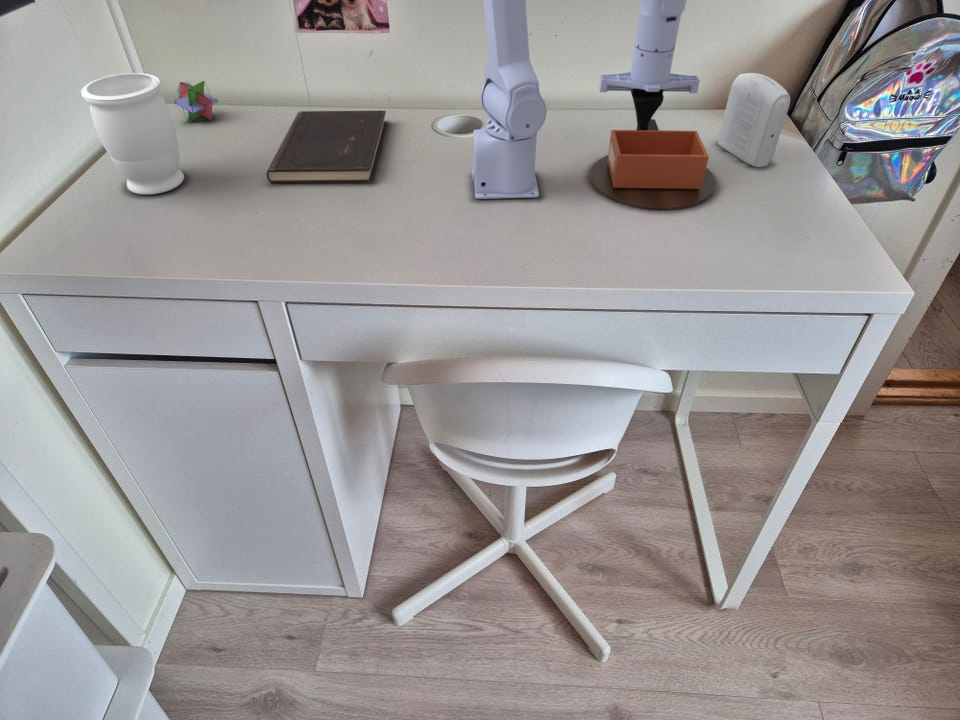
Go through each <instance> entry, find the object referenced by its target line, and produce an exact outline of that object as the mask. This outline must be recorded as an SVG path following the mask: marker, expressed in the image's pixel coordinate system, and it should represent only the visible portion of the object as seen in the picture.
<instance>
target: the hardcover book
mask: <svg viewBox="0 0 960 720" xmlns="http://www.w3.org/2000/svg"><path fill="white" fill-rule="evenodd" d="M386 113H387V111H386V110H310V111H307V110H305V111H303V110H302V111H297V113H296V115H295V117H294V119H293V121H292V123H291V124H290V127H289V129H288V130H287V132H286V134H285V136H284V139H283V140H282V142H281V144H280V146H279V148H278V149H277V152H276V153H275V156H274V157H273V159H272V161H271V163H270V165H269V167H268V169H267V171H266V178H267V181H268V182H269V183H270V184H275V185H277V184H280V185H281V184H371V183H372V182H373V178H374V175H375V171H376V167H377V164H378V159H379V155H380V151H381V148H382V144H383V139H384V136H385V132H386V128H387V125H388V124H387V123H388V121H386V120H385V117H386Z"/></svg>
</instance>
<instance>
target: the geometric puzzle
mask: <svg viewBox="0 0 960 720" xmlns="http://www.w3.org/2000/svg"><path fill="white" fill-rule="evenodd" d="M189 82H191V83H192V82H193V81H189ZM189 82H185V81H179V84H178V88H177V90H176V93H175V97H174V99H173V100H174V101H172V103H173V104H174V105H176V106H177V107H180V108H182V110H183V113H184V115H183V114H182V115H183V117H185V120H186V121H187V123H190V122H196V121H193V120H195V119H197V118H198V117H200V118H203V119H205V120H207V121H210V122H212V121H213V116H214V113H215V111H216V108H217V104H218V102H219V100H218V98H217V97H213V96H211V94H210V91H209V89H210V87H208V85H205V83H206V81H205V80H202V81H200V82H199V83H197V84H195V85H192V84H191V83H189ZM205 87H206V88H208V90H207V92H208V93H206V92H205ZM210 90H211V89H210ZM177 94H178V97H177V98H176V96H177ZM214 105H215V109H214V113H213V107H214ZM185 111H187V114H186V112H185ZM179 112H180V113H182V111H180V110H179Z"/></svg>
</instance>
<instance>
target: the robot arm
mask: <svg viewBox="0 0 960 720" xmlns="http://www.w3.org/2000/svg"><path fill="white" fill-rule="evenodd" d="M526 1H527V0H482V3H483V4H482V5H483V13H484V19H485V20H484V22H485V31H486V40H487V48H488V58H489V61H488V63H487V64H486V65H485V66H483V83H482V86H481V90H480V95H479V99H480V104H481V107H482V109H483V110H484V112H485V113H487V122H486V127H483V128H479V129H478V128H477V129H473V137H472V138H473V140H472V141H473V166H472V167H471V180H472V181H474V198H475V199H477V200H488V199H489V200H490V199H491V200H493V199H523V198H524V199H525V198H526V199H527V198H539V197H540V192H539V187H538V182H537V178H536V155H537V138H538V132H539V131H540V130H541V128H542V126H543V125H544V124H545V121H546V118H547V112H548V111H547V110H548V109H547V103H546V102H545V99H544V98H543V96H542V95H541V92H540V86H539V79H538V76H537V74H536V72H535V69H534V68H533V66H532V65H533V64H532V63H531V60H530V47H529V32H528V30H529V29H528V18H527V17H528V16H527V15H528V14H527V5H526V4H527V3H526ZM687 1H688V0H640V7H639V13H638V21H637V28H636V34H635V41H634V48H633V54H632V62H631V67H630V68H631V69H630V71H628V72H620V73H612V74H600V75H599V83H598V91H599V93H607V92H630V94H631V97H632V102H633V105H634V110H635V116H636V129H635V130H646V128H647V125H648V123H649V122H650V120H651V119H653V117H654V115H655V113H656V112H657V111H658V110H659V108H660V107H661V105H662V104H663V102H664V97H665V96H664V92H670V93H671V92H673V93H674V92H675V93H677V92H678V93H679V92H681V93H689V94H698V92H699V91H698V90H699V87H700V82H701V79H700V78H699V76H698V75H688V74H687V75H686V74H678V73H671V70H672V66H673V60H674V55H675V49H676V44H677V38H678V33H679V28H680V22H681V17H682V14H683V12H684V11H685V9H686V4H687Z"/></svg>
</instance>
